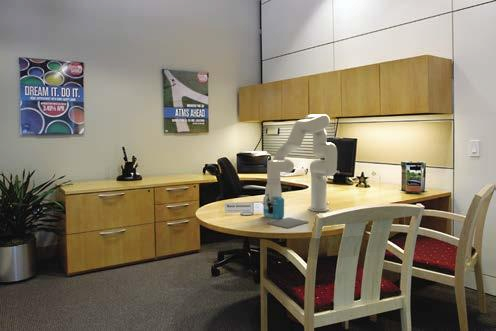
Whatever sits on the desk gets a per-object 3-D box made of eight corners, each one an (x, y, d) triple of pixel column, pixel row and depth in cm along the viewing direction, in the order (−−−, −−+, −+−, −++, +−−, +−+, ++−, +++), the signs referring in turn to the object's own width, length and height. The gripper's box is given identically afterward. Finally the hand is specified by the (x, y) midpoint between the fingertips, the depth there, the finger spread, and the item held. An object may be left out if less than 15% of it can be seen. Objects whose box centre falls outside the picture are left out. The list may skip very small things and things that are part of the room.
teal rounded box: (263, 216, 231) (263, 196, 229) (268, 215, 234) (268, 195, 233) (279, 219, 222) (279, 198, 221) (284, 218, 226) (284, 197, 225)
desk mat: (288, 218, 225) (288, 217, 225) (308, 222, 215) (308, 221, 215) (267, 223, 213) (267, 222, 213) (287, 228, 203) (287, 227, 203)
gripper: (278, 179, 235) (278, 209, 237) (258, 182, 223) (258, 214, 225) (288, 180, 229) (288, 211, 231) (268, 183, 218) (268, 216, 219)
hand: (273, 212), depth 228 cm, fingers closed on teal rounded box, 4 cm apart
